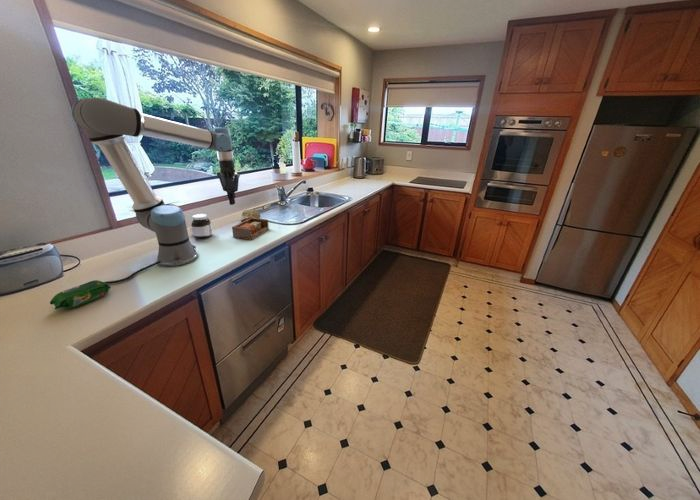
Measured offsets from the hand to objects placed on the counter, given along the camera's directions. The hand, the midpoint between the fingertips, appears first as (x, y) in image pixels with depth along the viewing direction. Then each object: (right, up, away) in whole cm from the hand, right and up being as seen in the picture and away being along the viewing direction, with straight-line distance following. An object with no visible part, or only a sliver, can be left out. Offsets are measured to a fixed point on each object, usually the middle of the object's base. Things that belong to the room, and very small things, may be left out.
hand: (232, 204), depth 155 cm
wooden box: (+9, -16, +4) cm, 19 cm away
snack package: (-25, -43, -60) cm, 78 cm away
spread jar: (-16, -18, -2) cm, 24 cm away
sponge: (+2, -7, +23) cm, 24 cm away
